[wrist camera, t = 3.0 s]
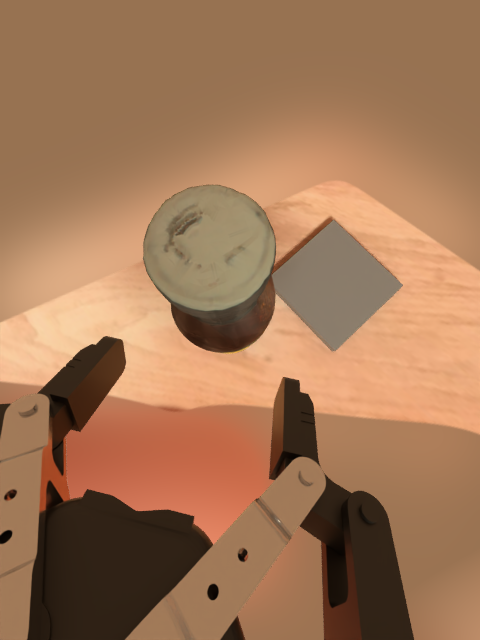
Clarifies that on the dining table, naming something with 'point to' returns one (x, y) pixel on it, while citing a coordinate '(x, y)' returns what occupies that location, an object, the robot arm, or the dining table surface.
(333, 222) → the rubber mat
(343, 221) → the dining table surface
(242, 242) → the sauce bottle
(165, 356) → the dining table surface
